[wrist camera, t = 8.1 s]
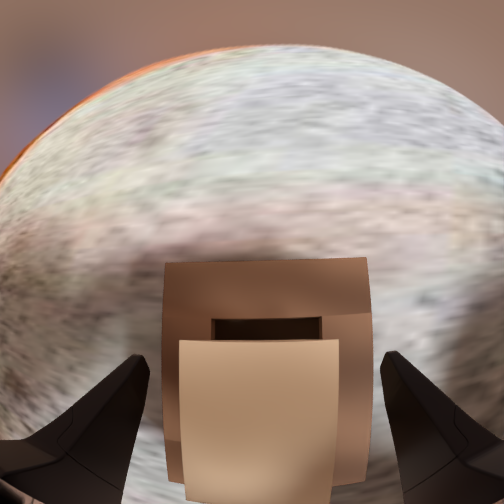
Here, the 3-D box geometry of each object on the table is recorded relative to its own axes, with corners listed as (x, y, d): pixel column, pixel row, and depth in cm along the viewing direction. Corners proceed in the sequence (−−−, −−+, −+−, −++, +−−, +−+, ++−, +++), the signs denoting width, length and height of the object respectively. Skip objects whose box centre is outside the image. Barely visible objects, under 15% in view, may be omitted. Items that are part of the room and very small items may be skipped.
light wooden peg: (295, 404, 16) (329, 503, 4) (241, 404, 17) (186, 500, 5) (295, 339, 18) (338, 339, 6) (241, 340, 18) (179, 339, 6)
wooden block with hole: (343, 449, 15) (365, 480, 10) (193, 450, 16) (168, 481, 11) (343, 279, 19) (366, 257, 14) (192, 283, 20) (165, 262, 15)
